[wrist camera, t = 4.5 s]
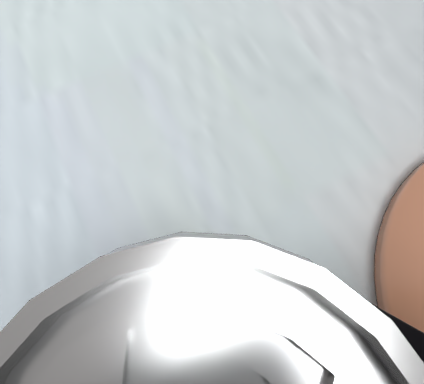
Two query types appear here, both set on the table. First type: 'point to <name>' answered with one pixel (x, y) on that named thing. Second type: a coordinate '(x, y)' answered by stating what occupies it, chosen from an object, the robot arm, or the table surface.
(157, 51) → the table surface
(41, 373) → the beer can
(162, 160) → the table surface
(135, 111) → the table surface
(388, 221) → the saucer
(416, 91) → the table surface
